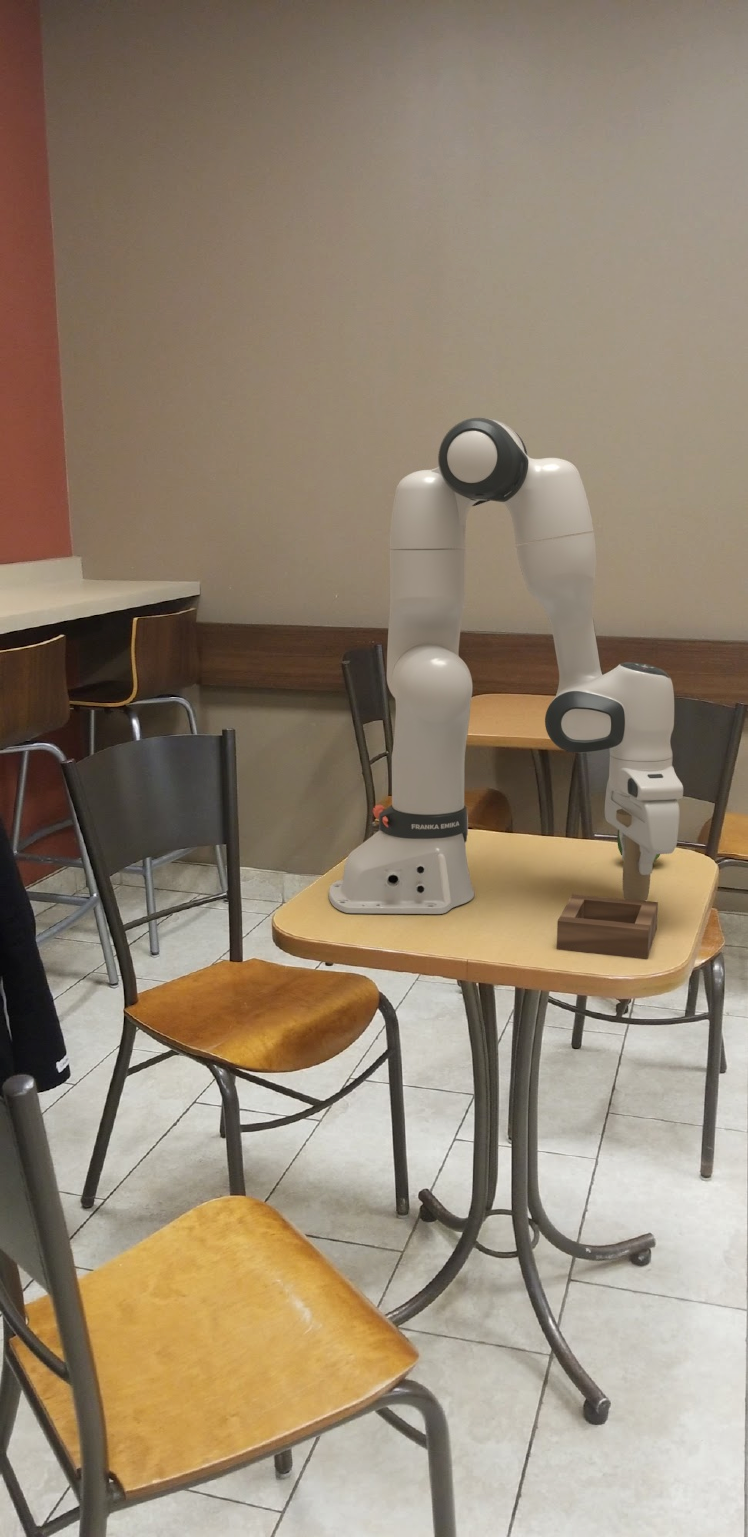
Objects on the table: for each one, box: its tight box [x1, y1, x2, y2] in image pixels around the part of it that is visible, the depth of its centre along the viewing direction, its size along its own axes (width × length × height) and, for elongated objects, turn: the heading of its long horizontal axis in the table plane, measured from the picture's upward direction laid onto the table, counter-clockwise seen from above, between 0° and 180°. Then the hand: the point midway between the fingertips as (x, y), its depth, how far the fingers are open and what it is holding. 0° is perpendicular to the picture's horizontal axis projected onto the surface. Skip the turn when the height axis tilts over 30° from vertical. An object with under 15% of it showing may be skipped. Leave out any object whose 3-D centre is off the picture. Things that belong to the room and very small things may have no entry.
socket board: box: [556, 893, 659, 960], centre depth 159 cm, size 12×12×4 cm
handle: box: [616, 809, 651, 901], centre depth 170 cm, size 5×6×15 cm
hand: (636, 867), depth 170 cm, fingers open, 5 cm apart
